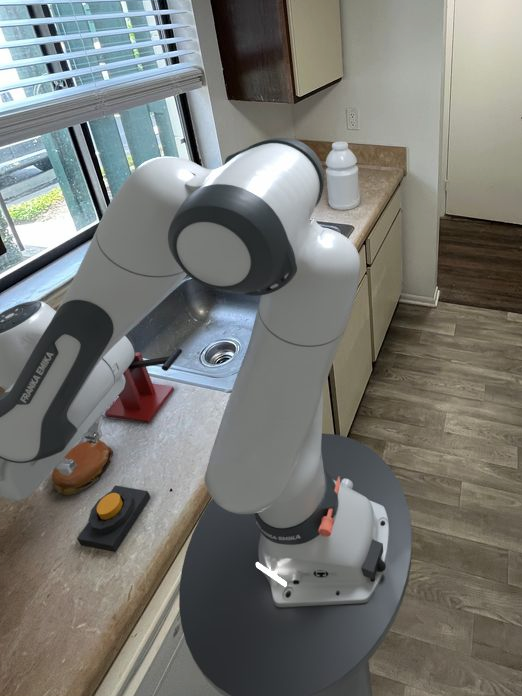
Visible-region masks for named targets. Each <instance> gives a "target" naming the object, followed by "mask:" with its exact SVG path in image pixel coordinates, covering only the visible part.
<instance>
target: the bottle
mask: <svg viewBox="0 0 522 696" xmlns="http://www.w3.org/2000/svg"><path fill="white" fill-rule="evenodd" d="M324 163H325V166H327V168H325V179H326V187H327V189H326V190H327V196H328V197H327V198H328V205H329V206H330V208H332V209H334V210H339V211H347V210H351V209H355V208H356V207H358V206H359V205H360V203H361V196H360V195H361V194H360V179H359V177H360V176H359V167H358V166H357V165H356V164H357V163H358V159H357V157H356V155H355V153H354V152H352V150H351V149H350V148H349V143H348V142H347V141H344V140H343V141H342V140H339V141H335V142H333V143H332V144H331V150H330V151H329V153H328V154H327V156H326V159H325V161H324Z"/></svg>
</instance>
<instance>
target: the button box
mask: <svg viewBox="0 0 522 696" xmlns="http://www.w3.org/2000/svg"><path fill="white" fill-rule="evenodd" d="M111 493H117V494H119V496H120V498H121V500H122V502H123V504H122V508H121V510H120V511H119V512H118V514H117V515H115V516H114V517H113V518H111V519H108V520H102V519H101V518H100V517H99V515H98V513H97V505H98V503H99V502H100V501H101V499H103V498H104V497H105V496H106V495H108V494H111ZM150 500H151V496H150V493H149V491H148V490H145V489H138V488H132V487H127V486H122V485H116V484H115V485H114V486H113V488H112V489H111V490H110V491H109V492H107V493H106V494H104V495H103V496H102V497H101V498H99V499H97V501H96V503H95V504H94V506H92V508H91V510H90V514H89V517H88V522H87V524H86V525H85V526H84V528H83V529H82V530H81V532H80V533H79V534H78V536H77V537H76V540H77V542H78V543H79V545H80V546H82V547H87V548H90V549H91V548H93V549H97V550H101V551H107V552H112V553H117V551H118V550H119V548H120V547H121V545H122V544H123V542H124V540H125V539H126V537H127V535H128V534H129V532H130V531H131V529H132V528H133V527H134V525H135V523H136V522H137V520H138V519H139V517H140V516H141V514H142V512H143V511H144V509H145V508H146V506H147V504H148V503H149V501H150Z"/></svg>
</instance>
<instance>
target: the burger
mask: <svg viewBox="0 0 522 696" xmlns="http://www.w3.org/2000/svg"><path fill="white" fill-rule="evenodd" d="M113 455H114V450H113V449H112V447H110V446H109V445H107V444H106V443H105V442H104V441H102V440H101V439H99V440H98V441H97V443H96V444H93V443H89V442H87V441H86V440H84V441H82V442H80V443H79V444H78V445H76V446H75V447H73V448H72V449H71V450H70V451H69V452H68V453H67V455H66V456H65V457H64V458H66V459H69V460H70V459H72V460H74V461H75V462H76V463H75V464H77V467H76V468H75V469H74V470H73V471H72V473H71V474H70V475H63V474H61V473H60V472H59V470H58V469H54V470H53V471H52V473H51V481H52V484H53V485H54V488H55V490H56V491H57V492H58V493H59V494H61V495H66V496H67V495H68V496H72V495H73V496H74V495H75V494H78V493H80V492H81V491H83V490H84V489H86V488H88V487H90V486H91V485H92V484H93V483H95V482H96V481H98V480H99V479H100V478H101V477H102V476H103V474H104V473H105V472H106V471H107V469H108V467H109V466H110V464H111V463H112V457H113Z"/></svg>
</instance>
